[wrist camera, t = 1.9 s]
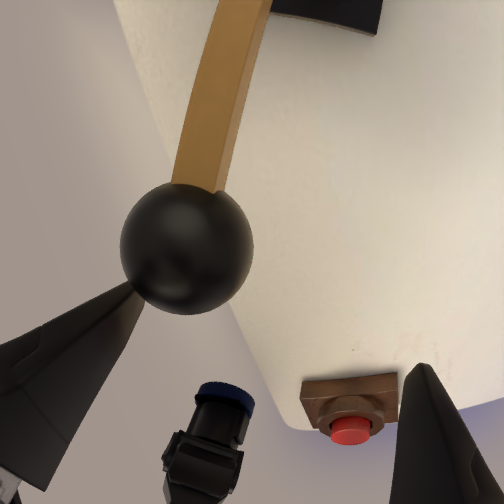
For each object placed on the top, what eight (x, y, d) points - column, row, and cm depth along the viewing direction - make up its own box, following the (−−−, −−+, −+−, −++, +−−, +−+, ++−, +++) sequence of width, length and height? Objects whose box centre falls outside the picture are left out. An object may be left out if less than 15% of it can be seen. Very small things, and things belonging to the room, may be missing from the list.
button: (335, 432, 30) (333, 446, 29) (329, 415, 29) (327, 430, 27) (371, 430, 29) (370, 443, 27) (368, 412, 27) (368, 427, 26)
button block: (315, 413, 35) (310, 441, 32) (302, 381, 32) (296, 413, 29) (397, 406, 31) (398, 435, 28) (397, 371, 28) (399, 405, 25)
